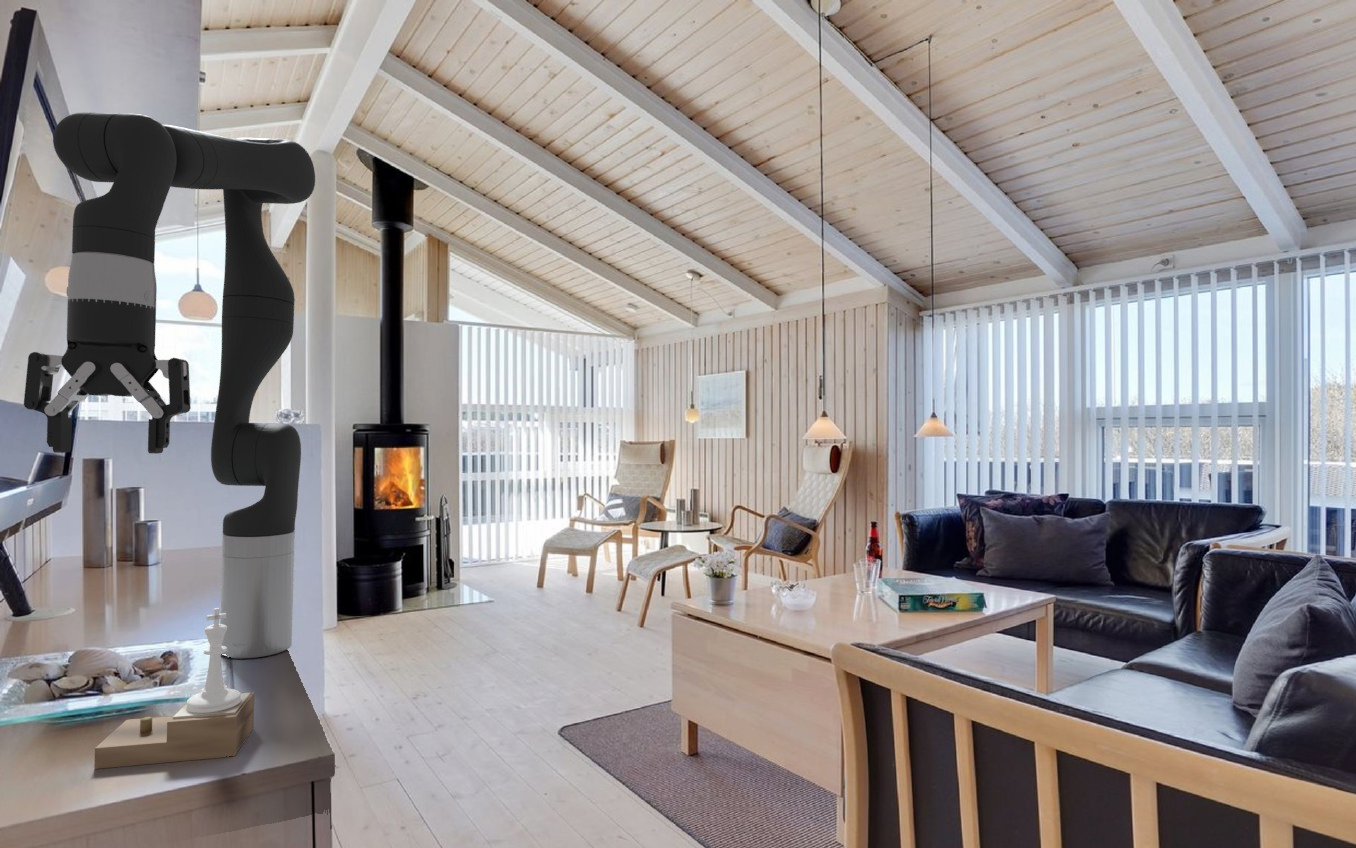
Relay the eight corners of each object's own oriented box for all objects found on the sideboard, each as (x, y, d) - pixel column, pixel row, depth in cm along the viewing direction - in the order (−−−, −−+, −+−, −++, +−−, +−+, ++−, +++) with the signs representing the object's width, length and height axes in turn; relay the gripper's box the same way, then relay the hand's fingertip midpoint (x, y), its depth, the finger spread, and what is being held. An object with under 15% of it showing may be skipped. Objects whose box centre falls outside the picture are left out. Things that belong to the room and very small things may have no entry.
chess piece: (246, 705, 77) (248, 610, 77) (189, 717, 73) (192, 617, 73) (236, 692, 80) (238, 600, 80) (182, 702, 77) (184, 607, 77)
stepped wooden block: (126, 738, 78) (127, 699, 78) (253, 728, 81) (254, 690, 81) (94, 769, 71) (95, 725, 71) (234, 756, 74) (235, 714, 74)
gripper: (201, 311, 84) (197, 452, 84) (52, 302, 80) (48, 450, 80) (176, 301, 77) (172, 455, 77) (11, 290, 73) (7, 453, 73)
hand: (109, 452), depth 79 cm, fingers open, 8 cm apart
